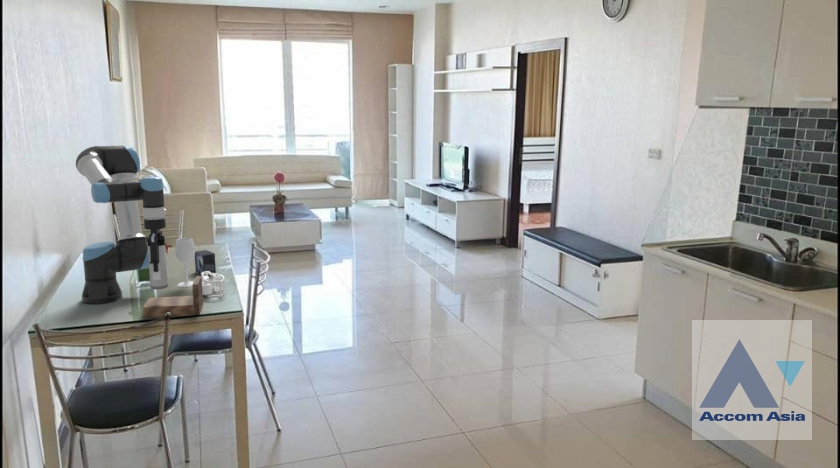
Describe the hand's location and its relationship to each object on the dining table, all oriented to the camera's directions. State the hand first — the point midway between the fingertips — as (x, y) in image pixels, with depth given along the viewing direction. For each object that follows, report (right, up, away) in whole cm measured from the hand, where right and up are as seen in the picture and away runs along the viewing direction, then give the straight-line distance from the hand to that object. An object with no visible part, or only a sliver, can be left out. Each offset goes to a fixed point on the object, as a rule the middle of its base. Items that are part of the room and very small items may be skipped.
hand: (158, 277), depth 240 cm
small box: (-3, -3, +62) cm, 62 cm away
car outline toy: (+10, -9, +30) cm, 33 cm away
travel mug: (0, -4, +1) cm, 4 cm away
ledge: (+5, -13, +4) cm, 15 cm away
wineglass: (-4, -7, +41) cm, 42 cm away
